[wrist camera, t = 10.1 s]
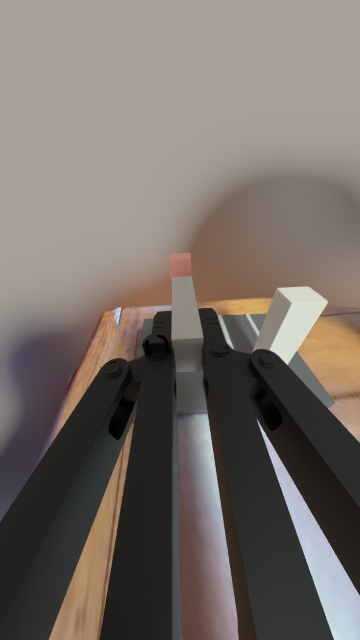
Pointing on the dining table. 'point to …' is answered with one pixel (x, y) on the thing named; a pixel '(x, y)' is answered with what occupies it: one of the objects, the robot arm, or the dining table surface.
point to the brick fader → (179, 265)
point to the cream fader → (289, 320)
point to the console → (240, 338)
